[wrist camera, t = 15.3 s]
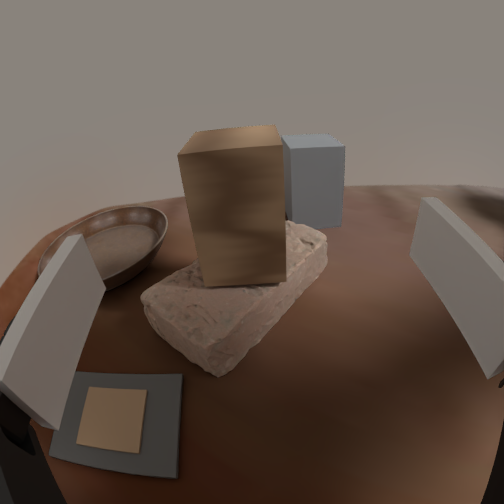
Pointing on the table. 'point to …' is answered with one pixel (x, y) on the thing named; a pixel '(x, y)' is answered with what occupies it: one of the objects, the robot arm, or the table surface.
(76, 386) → the card
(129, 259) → the plant saucer
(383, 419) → the table surface
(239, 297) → the brick
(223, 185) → the walnut block
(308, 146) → the slate block
